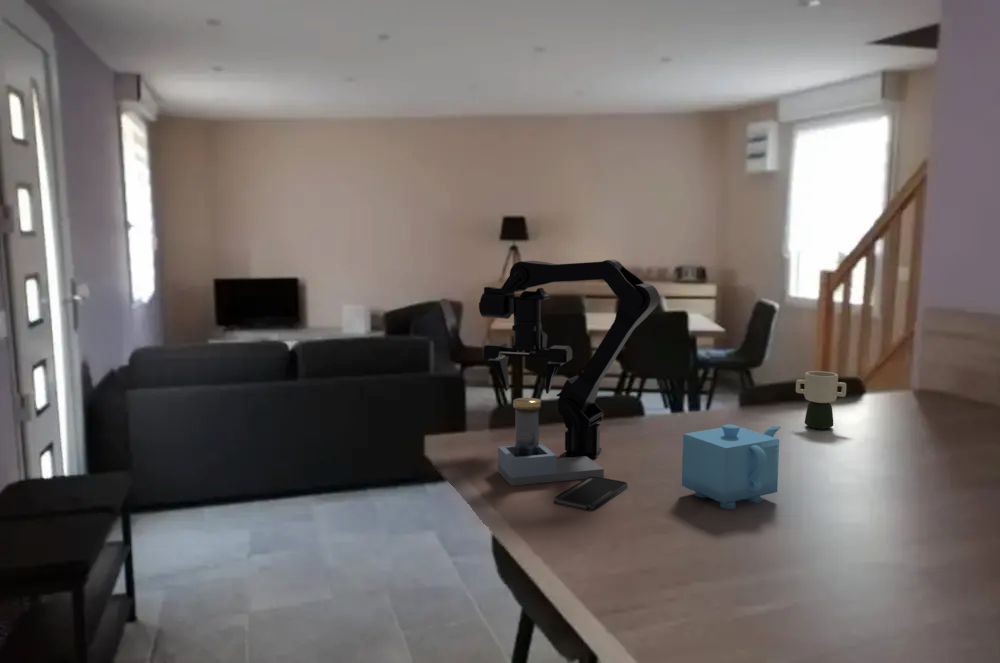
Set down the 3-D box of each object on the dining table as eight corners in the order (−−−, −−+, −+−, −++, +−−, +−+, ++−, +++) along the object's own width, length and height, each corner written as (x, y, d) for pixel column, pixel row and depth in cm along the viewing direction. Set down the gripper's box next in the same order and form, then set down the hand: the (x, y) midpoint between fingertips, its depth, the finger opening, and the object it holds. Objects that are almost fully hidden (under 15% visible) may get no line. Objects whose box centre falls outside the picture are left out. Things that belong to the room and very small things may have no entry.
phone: (551, 498, 132) (591, 475, 145) (551, 504, 132) (591, 481, 145) (593, 507, 128) (630, 482, 140) (592, 514, 128) (629, 488, 141)
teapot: (734, 518, 125) (737, 441, 123) (671, 490, 139) (673, 420, 137) (812, 500, 133) (816, 427, 131) (745, 475, 147) (748, 409, 145)
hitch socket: (585, 463, 155) (586, 439, 154) (603, 476, 146) (604, 451, 146) (498, 471, 150) (498, 446, 149) (511, 485, 141) (511, 459, 141)
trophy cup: (844, 426, 182) (847, 372, 181) (843, 433, 176) (846, 378, 174) (795, 422, 187) (797, 369, 185) (793, 428, 180) (795, 374, 179)
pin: (537, 463, 149) (537, 397, 148) (543, 471, 144) (543, 403, 143) (511, 465, 149) (511, 398, 147) (515, 473, 143) (516, 404, 142)
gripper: (578, 317, 168) (577, 387, 170) (498, 314, 174) (498, 382, 176) (566, 323, 158) (565, 397, 160) (480, 320, 164) (481, 391, 166)
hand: (526, 391), depth 166 cm, fingers open, 9 cm apart
